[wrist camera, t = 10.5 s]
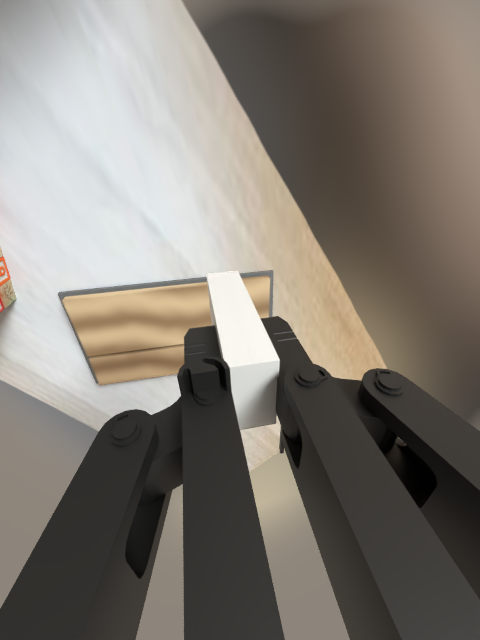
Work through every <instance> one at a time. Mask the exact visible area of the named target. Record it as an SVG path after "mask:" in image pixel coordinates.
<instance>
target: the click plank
mask: <svg viewBox="0 0 480 640" xmlns="http://www.w3.org/2000/svg"><path fill="white" fill-rule="evenodd" d="M241 279H242V281H243V283H244V285H245V287H246V289H247V291H248V293H249V296H250V298H251V300H252V302H253V304H254V306H255V308H256V310H257V313H258V315H259V317H260V318H268V317H269V296H270V278H269V276H258V277H249V278H241ZM62 302H63V304H64V306H65V309H66V311H67V313H68V315H69V317H70V319H71V322H72V324H73V326H74V328H75V330H76V333H77V335H78V337H79V339H80V341H81V343H82V346H83V348H84V350H85V352H86V354H87V356H88V357H89V356H97V355H104V354H111V353H119V352H126V351H134V350H141V349H149V348H156V347H164V346H171V345H179V344H184V336H185V335H186V333H187V331H188V330H189V328H197V327H205V326H212V323H211V314H210V304H209V295H208V285H207V282H201V283H192V284H182V285H173V286H163V287H154V288H144V289H135V290H125V291H116V292H106V293H97V294H87V295H78V296H68V297H65V298H64V299H63V300H62Z"/></svg>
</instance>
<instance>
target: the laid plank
mask: <svg viewBox="0 0 480 640" xmlns="http://www.w3.org/2000/svg"><path fill="white" fill-rule="evenodd" d="M89 361H90V363H91V366H92V368H93V370H94V373H95V375H96V378H97V380H98V382H99V385H104V384H111V383H118V382H125V381H131V380H138V379H145V378H152V377H158V376H165V375H172V374H178V372H179V369H180V368H181V367H182V366H183V364H184V344H179V345H171V346H164V347H156V348H149V349H141V350H134V351H126V352H119V353H111V354H104V355H97V356H90V358H89Z"/></svg>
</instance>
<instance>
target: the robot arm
mask: <svg viewBox="0 0 480 640" xmlns="http://www.w3.org/2000/svg"><path fill="white" fill-rule="evenodd" d="M206 276H207V285H208V295H209V304H210V314H211V323H212V326H205V327H197V328H189V330H188V331H187V333H186V335H185V336H184V364H183V366H182V367H181V368H180V369H179V372H178V375H177V378H178V383H179V387H180V392H181V397H180V398H179V399H178V400H177V401H176V402H175V403H174V404H173V405H171V406H170V407H168V408H166V409H164V410H162V411H160V412H158V413H155V414H153V415H150V414H148V413H147V412H146V411H142V410H137V409H136V410H128V411H124V412H122V413H120V414H117V415H115V416H114V417H113V418H111V419H110V420H109V421H107V422H106V423H105V424H104V426H103V427H102V428H101V430H100V431H99V432H98V434H97V436H96V438H95V440H94V441H93V443H92V445H91V447H90V449H89V450H88V452H87V454H86V456H85V458H84V459H83V461H82V463H81V465H80V467H79V468H78V470H77V472H76V474H75V476H74V477H73V479H72V481H71V483H70V485H69V487H68V488H67V490H66V492H65V494H64V495H63V497H62V499H61V501H60V503H59V504H58V506H57V508H56V510H55V512H54V513H53V515H52V517H51V519H50V521H49V522H48V524H47V526H46V528H45V530H44V531H43V533H42V535H41V537H40V539H39V541H38V542H37V544H36V546H35V548H34V549H33V551H32V553H31V555H30V557H29V558H28V560H27V562H26V564H25V566H24V567H23V569H22V571H21V573H20V575H19V576H18V578H17V580H16V582H15V584H14V585H13V587H12V589H11V591H10V593H9V595H8V596H7V598H6V600H5V602H4V603H3V605H2V607H1V609H0V640H135V639H136V635H137V631H138V627H139V623H140V619H141V614H142V611H143V607H144V603H145V599H146V595H147V590H148V587H149V583H150V578H151V574H152V570H153V566H154V562H155V558H156V554H157V550H158V546H159V541H160V538H161V534H162V530H163V526H164V521H165V517H166V514H167V509H168V506H169V501H170V497H171V493H172V490H173V489H175V488H176V487H178V486H180V485H181V484H183V549H184V551H183V554H184V640H285V639H284V634H283V630H282V625H281V620H280V616H279V611H278V606H277V602H276V597H275V592H274V587H273V583H272V578H271V573H270V569H269V564H268V559H267V555H266V550H265V545H264V541H263V536H262V531H261V527H260V522H259V517H258V513H257V508H256V503H255V499H254V494H253V489H252V485H251V480H250V476H249V470H248V466H247V461H246V456H245V452H244V447H243V442H242V438H241V433H240V430H243V429H248V428H254V427H259V426H265V425H270V424H276V414H277V416H278V418H279V421H280V424H281V432H280V444H279V448H280V453H283V452H284V449H285V451H286V454H287V457H288V460H289V463H290V466H291V469H292V472H293V475H294V478H295V480H296V483H297V486H298V489H299V492H300V495H301V498H302V501H303V504H304V507H305V510H306V513H307V515H308V518H309V521H310V524H311V527H312V530H313V533H314V536H315V539H316V542H317V545H318V547H319V550H320V553H321V556H322V559H323V562H324V565H325V568H326V571H327V574H328V577H329V579H330V582H331V585H332V588H333V591H334V594H335V597H336V600H337V603H338V606H339V608H340V611H341V614H342V617H343V620H344V623H345V626H346V629H347V632H348V635H349V638H350V640H480V431H479V430H477V429H476V428H474V427H473V426H472V425H470V424H469V423H468V422H466V421H465V420H463V419H462V418H461V417H459V416H458V415H456V414H455V413H454V412H453V411H451V410H450V409H448V408H447V407H446V406H444V405H443V404H442V403H440V402H439V401H437V400H436V399H435V398H433V397H432V396H431V395H429V394H428V393H427V392H425V391H424V390H422V389H421V388H420V387H418V386H417V385H416V384H414V383H413V382H411V381H410V380H409V379H407V378H406V377H404V376H402V375H401V374H399V373H397V372H394V371H391V370H388V369H379V368H377V369H372V370H369V371H367V372H366V373H365V374H364V376H363V378H362V381H359V380H349V379H340V378H334V377H332V376H331V375H330V374H329V373H328V372H327V371H326V369H324V368H322V367H320V366H319V365H316V364H313V363H312V361H311V360H310V358H309V357H308V355H307V353H306V352H305V350H304V348H303V347H302V345H301V344H300V342H299V340H298V339H297V337H296V335H295V334H294V332H292V329H291V327H290V326H289V324H288V323H287V322H286V321H285V320H283V319H282V318H280V317H279V316H276V317H268V318H260V317H259V315H258V313H257V310H256V308H255V306H254V304H253V302H252V300H251V298H250V296H249V293H248V291H247V289H246V287H245V285H244V283H243V281H242V279H241V277H240V274H239V272H238V271H229V272H219V273H209V274H206ZM398 437H399V438H400V439H401V440H402V441H401V440H400V439H399V438H398Z"/></svg>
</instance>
